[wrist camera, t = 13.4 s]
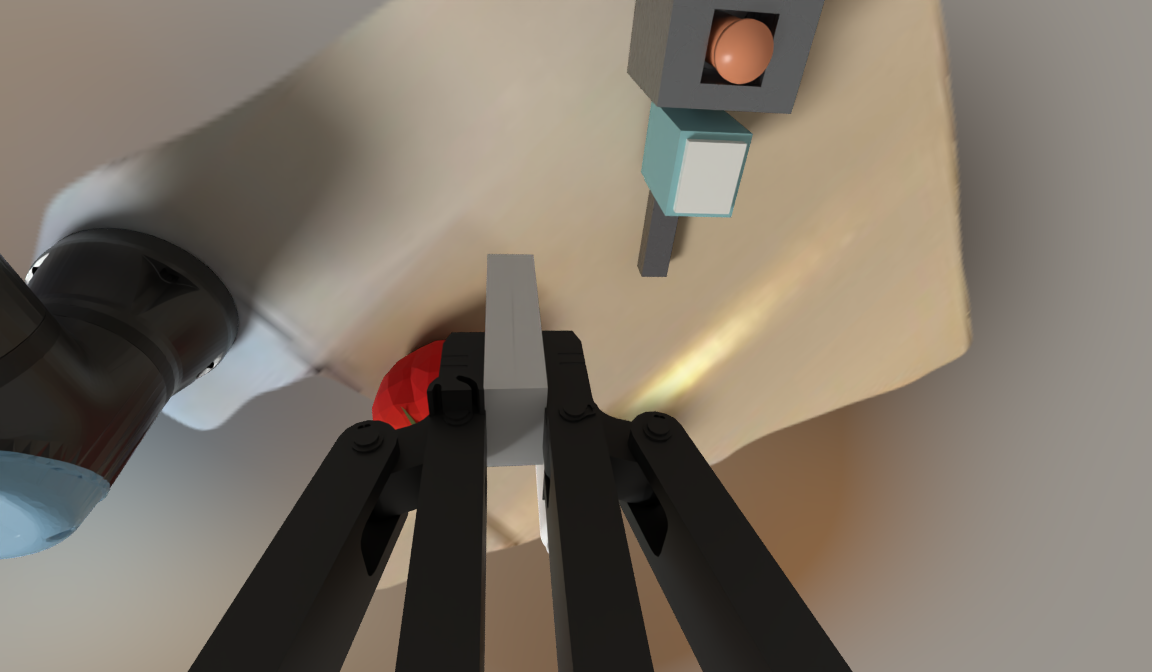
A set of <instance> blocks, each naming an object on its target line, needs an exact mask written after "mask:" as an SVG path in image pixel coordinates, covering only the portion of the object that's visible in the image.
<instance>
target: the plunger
mask: <svg viewBox="0 0 1152 672" xmlns="http://www.w3.org/2000/svg"><path fill="white" fill-rule="evenodd" d="M773 48H774V42H773V37H772V34H771V32H770V30H769V28H768V27H767V26H766V25H765V24H764V23H762V22H760V21H757V20H755V19H751V18H744V19H741V18H738V17H736V16H733V15H731V14H728V13H725V12H721V11H716V12H714V15H713V20H712V25H711V30H710V35H709V40H708V46H707V51H706V56H705V62H707V63H708V64H710V65H712V66H713V67H715V68H716V70H717V71H718V73H719V74H720V75H721V76H722V77H723V78H724V79H726V80H727V81H729V82H731V83H735V84H744V83H748V82H750V81H752V80H754V79H756V78H757V77H758V76H760V75H761V74H762V73H763V72H764V70H765V69H766V68H767V66H768V64H769V62H770V60H771V58H772V54H773Z"/></svg>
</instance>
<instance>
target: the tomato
mask: <svg viewBox="0 0 1152 672" xmlns="http://www.w3.org/2000/svg"><path fill="white" fill-rule="evenodd" d="M444 341H445V340H439V341H434V342H432V343H430V344H427V345H425V346H423V347H421V348H419V349H417V350H416V351H414V352H412V353H411V354H409V355H407V356H405V357H404V358H402V359H401V360H399V361H398V362H397V363H396V364H395V365H394V366H393V367H392V368H391V370H390V371H389V372H388V373H387V374H386V375H385V377H384V378H383V380H382V382H381V384H380V387H379V390H378V392H377V395H376V398H375V401H374V404H373V407H372V414H373V420H379V421H383V422H386V423H389V424H390V425H391V426H392V427H393V428H394V429H395V430H396V429H399V428H403V427H407V426H410V425H413V424H415V423H418V422H419V421H421V420H423V419H424V418H425V417H427V416H428V415H429V409H428V400H427V389H428V386H429V384H430V383H431V382H432V381H433V380H434V379H436V378H437V377H439V370H440V362H441V354H442V347H443V343H444Z"/></svg>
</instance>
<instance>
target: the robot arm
mask: <svg viewBox="0 0 1152 672" xmlns="http://www.w3.org/2000/svg"><path fill="white" fill-rule="evenodd" d="M237 331H238V315H237V310H236V307H235V304H234V302H233V299H232V297H231V295H230V294H229V292H228V290H227V289H226V287H225V286H224V284H223V283H222V282H221V281H220V279H219V278H218V277H217V276H216V275H215V274H214V273H213V272H212V271H211V270H210V269H209V268H208V267H207V266H205V265H204V264H203V263H202V262H200V261H199V260H198V259H196V258H195V257H194V256H192V255H191V254H189V253H187V252H186V251H184V250H182V249H181V248H179V247H177V246H175V245H173V244H171V243H169V242H166V241H164V240H161V239H159V238H156V237H153V236H150V235H147V234H143V233H139V232H135V231H129V230H123V229H110V228H106V229H92V230H86V231H81V232H78V233H75V234H72V235H70V236H68V237H66V238H64V239H62V240H61V241H59V242H58V243H56V244H55V245H54V246H52V247H51V248H50V249H48V250H47V251H46V252H44V253H43V254H42V255H41V256H40V257H39V258H38V259H37V260H36V261H35V262H34V263H33V265H32V266H31V268H30V270H29V272H28V274H27V276H26V279H25V282H24V281H23V280H22V279H21V278H20V276H19V275H18V274H17V273H16V272H15V271H14V269H13V268H12V267H11V266H10V265H9V263H8V262H6V260H5V259H4V258H3V256H2V255H1V254H0V559H7V558H14V557H20V556H25V555H29V554H33V553H37V552H40V551H43V550H45V549H48V548H50V547H53V546H55V545H56V544H58V543H60V542H62V541H63V540H65V539H66V538H68V537H69V536H70V535H71V534H72V533H73V532H74V531H75V530H76V529H77V528H78V527H79V526H80V524H81V523H82V522H83V521H84V519H85V518H86V517H87V516H88V514H89V513H90V512H91V511H92V509H93V508H94V507H95V506H96V504H97V503H98V502H100V501H102V500H103V499H104V498H105V497H106V496H107V494H108V492H109V490H110V487H111V486H112V484H113V483H114V481H115V480H116V478H117V477H118V475H119V474H120V472H121V471H122V469H123V468H124V466H125V465H126V463H127V462H128V460H129V459H130V457H131V456H132V454H133V453H134V451H135V450H136V448H137V447H138V445H139V444H140V442H141V441H142V439H143V438H144V436H145V435H146V433H147V432H148V430H149V429H150V427H151V426H152V424H153V423H154V421H155V420H156V418H157V417H158V415H159V414H160V412H161V411H162V409H163V407H164V406H165V405H166V403H167V402H168V400H169V399H170V398H171V397H172V396H173V395H175V394H176V393H178V392H179V391H181V390H182V389H184V388H185V387H187V386H188V385H190V384H191V383H193V382H194V381H195V380H196V379H198V378H200V377H202V376H203V375H205V374H207V373H208V372H210V371H211V370H212V369H214V368H215V367H216V366H217V365H218V364H219V363H220V362H221V361H222V359H223V358H224V357H225V355H226V353H227V352H228V350H229V349H230V347H231V346H232V344H233V342H234V340H235V338H236V335H237ZM427 400H428V409H429V415H428V416H427V417H425V418H424V419H423V420H421V421H419V422H418V423H415V424H413V425H410V426H407V427H403V428H399V429H396V430H395V429H394V428H393V427H392V426H391V425H390V424H389V423H386V422H383V421H379V420H367V421H363V422H360V423H356V424H354V425H353V426H351V427H349V428H347V429H346V430H345V431H344V432H343V433H342V434H341V435H340V436H339V438H338V439H337V441H336V442H335V444H334V445H333V447H332V448H331V450H330V452H329V453H328V455H327V456H326V458H325V459H324V461H323V462H322V464H321V466H320V467H319V469H318V470H317V472H316V473H315V475H314V476H313V478H312V480H311V481H310V483H309V484H308V486H307V487H306V489H305V491H304V492H303V494H302V495H301V497H300V498H299V500H298V501H297V503H296V504H295V506H294V508H293V509H292V511H291V512H290V514H289V515H288V517H287V518H286V520H285V521H284V523H283V525H282V526H281V528H280V530H279V531H278V532H277V534H276V535H275V537H274V539H273V540H272V542H271V543H270V545H269V546H268V548H267V549H266V551H265V553H264V554H263V556H262V557H261V559H260V560H259V562H258V563H257V565H256V567H255V568H254V570H253V571H252V573H251V574H250V576H249V578H248V579H247V580H246V582H245V584H244V585H243V587H242V588H241V590H240V591H239V593H238V594H237V596H236V598H235V599H234V601H233V602H232V604H231V605H230V607H229V608H228V610H227V612H226V613H225V615H224V616H223V618H222V619H221V621H220V622H219V624H218V626H217V627H216V629H215V630H214V632H213V634H212V635H211V636H210V638H209V640H208V641H207V643H206V644H205V646H204V647H203V649H202V650H201V652H200V654H199V655H198V657H197V658H196V660H195V661H194V663H193V664H192V666H191V668H190V669H189V671H188V672H340V670H341V667H342V665H343V663H344V661H345V658H346V656H347V654H348V651H349V649H350V647H351V645H352V642H353V640H354V637H355V635H356V633H357V631H358V629H359V626H360V624H361V622H362V619H363V617H364V615H365V612H366V610H367V608H368V606H369V603H370V601H371V599H372V596H373V594H374V592H375V590H376V587H377V585H378V583H379V580H380V578H381V576H382V574H383V571H384V569H385V567H386V564H387V562H388V560H389V558H390V555H391V553H392V551H393V548H394V546H395V544H396V541H397V539H398V537H399V535H400V532H401V530H402V528H403V525H404V523H405V521H406V519H407V516H408V512H409V511H412V510H415V509H417V512H416V520H415V527H414V535H413V542H412V549H411V557H410V564H409V572H408V579H407V587H406V594H405V602H404V609H403V616H402V624H401V631H400V639H399V646H398V654H397V661H396V669H395V672H484V653H485V589H486V588H485V587H486V584H485V583H486V523H487V467H496V466H522V465H543V459H544V480H543V496H542V500H545V508H546V521H547V534H548V546H549V558H550V572H551V584H552V597H553V610H554V622H555V635H556V648H557V660H558V672H654V669H653V664H652V660H651V655H650V650H649V645H648V640H647V635H646V630H645V626H644V621H643V616H642V611H641V606H640V602H639V597H638V592H637V587H636V582H635V577H634V572H633V568H632V563H631V558H630V553H629V548H628V543H627V539H626V534H625V529H624V524H623V519H622V514H621V509H620V506H621V508H622V510H623V512H624V514H625V516H626V518H627V520H628V522H629V524H630V526H631V528H632V530H633V532H634V534H635V536H636V538H637V540H638V542H639V544H640V546H641V548H642V550H643V552H644V554H645V556H646V558H647V560H648V562H649V564H650V566H651V568H652V570H653V572H654V574H655V576H656V578H657V580H658V582H659V584H660V586H661V588H662V590H663V592H664V594H665V596H666V598H667V600H668V602H669V604H670V606H671V608H672V610H673V612H674V614H675V616H676V618H677V620H678V622H679V624H680V626H681V629H682V630H683V632H684V634H685V636H686V639H687V641H688V642H689V644H690V646H691V648H692V650H693V653H694V655H695V656H696V658H697V660H698V663H699V665H700V667H701V669H702V671H703V672H852V670H851V669H850V667H849V666H848V664H847V663H846V662H845V660H844V659H843V657H842V656H841V654H840V653H839V652H838V650H837V649H836V647H835V646H834V644H833V643H832V641H831V640H830V639H829V637H828V636H827V634H826V633H825V631H824V630H823V629H822V627H821V626H820V624H819V623H818V621H817V620H816V618H815V617H814V616H813V614H812V613H811V611H810V610H809V608H808V607H807V605H806V604H805V603H804V601H803V600H802V598H801V597H800V596H799V594H798V592H797V591H796V590H795V588H794V587H793V585H792V584H791V582H790V581H789V579H788V578H787V577H786V575H785V574H784V572H783V571H782V569H781V568H780V567H779V565H778V564H777V562H776V561H775V559H774V558H773V556H772V555H771V554H770V552H769V551H768V550H767V548H766V546H765V545H764V544H763V542H762V541H761V539H760V538H759V536H758V535H757V534H756V532H755V531H754V529H753V528H752V526H751V525H750V523H749V522H748V521H747V519H746V518H745V516H744V515H743V513H742V512H741V510H740V509H739V508H738V506H737V505H736V503H735V502H734V500H733V499H732V497H731V496H730V495H729V493H728V492H727V490H726V489H725V487H724V486H723V484H722V483H721V482H720V480H719V479H718V477H717V476H716V475H715V473H714V472H713V470H712V469H711V467H710V466H709V464H708V463H707V461H706V460H705V459H704V457H703V456H702V454H701V453H700V451H699V450H698V448H697V447H696V446H695V444H694V443H693V441H692V440H691V438H690V437H689V436H688V434H687V433H686V431H685V430H684V428H683V427H682V425H681V424H680V423H679V422H678V421H677V420H676V419H675V418H673V417H671V416H669V415H667V414H665V413H660V412H656V411H655V412H645V413H642V414H640V415H637V416H636V418H635V419H634V420H633V421H632V422H630V421H626V420H621V419H617V418H614V417H611V416H609V415H607V414H605V413H603V412H602V411H601V410H600V409H599V408H598V406H597V404H596V403H594V401H593V398H592V393H591V388H590V384H589V379H588V374H587V369H586V365H585V359H584V355H583V349H582V344H581V341H580V339H579V338H578V337H577V336H576V335H575V334H574V332H573V331H542V330H541V321H540V311H539V302H538V293H537V284H536V274H535V265H534V256H533V255H524V254H488V255H487V288H486V321H485V332H452V333H451V334H450V335H449V336H448V338H447V339H446V340H445V341H444V343H443V347H442V354H441V362H440V370H439V377H437V378H436V379H434V380H433V381H432V382H431V383H430V384H429V386H428V389H427ZM619 504H620V505H619Z"/></svg>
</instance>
